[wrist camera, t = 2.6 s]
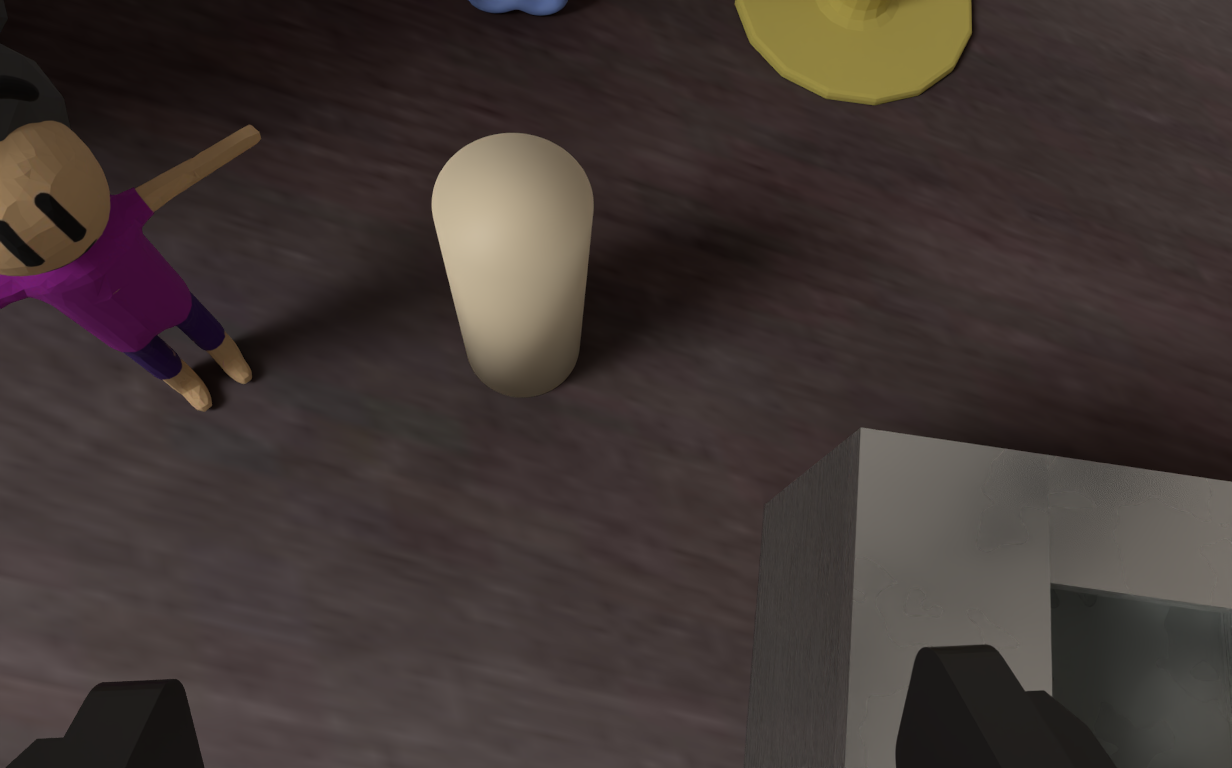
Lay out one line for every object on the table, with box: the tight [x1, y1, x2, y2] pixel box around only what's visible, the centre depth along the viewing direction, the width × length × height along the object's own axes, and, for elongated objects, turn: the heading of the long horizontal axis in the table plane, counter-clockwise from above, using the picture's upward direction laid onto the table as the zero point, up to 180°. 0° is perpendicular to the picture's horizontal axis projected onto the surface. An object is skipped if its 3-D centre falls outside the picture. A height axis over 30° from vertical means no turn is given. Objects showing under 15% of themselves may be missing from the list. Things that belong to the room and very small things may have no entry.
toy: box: [0, 0, 261, 412], centre depth 24 cm, size 10×6×15 cm, turn 130°
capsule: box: [432, 133, 594, 398], centre depth 27 cm, size 4×4×10 cm
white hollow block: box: [744, 428, 1232, 768], centre depth 24 cm, size 16×13×10 cm
